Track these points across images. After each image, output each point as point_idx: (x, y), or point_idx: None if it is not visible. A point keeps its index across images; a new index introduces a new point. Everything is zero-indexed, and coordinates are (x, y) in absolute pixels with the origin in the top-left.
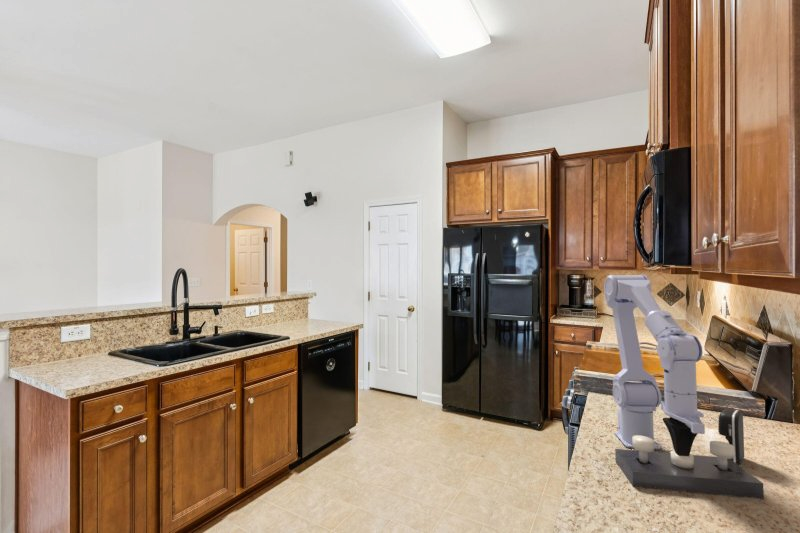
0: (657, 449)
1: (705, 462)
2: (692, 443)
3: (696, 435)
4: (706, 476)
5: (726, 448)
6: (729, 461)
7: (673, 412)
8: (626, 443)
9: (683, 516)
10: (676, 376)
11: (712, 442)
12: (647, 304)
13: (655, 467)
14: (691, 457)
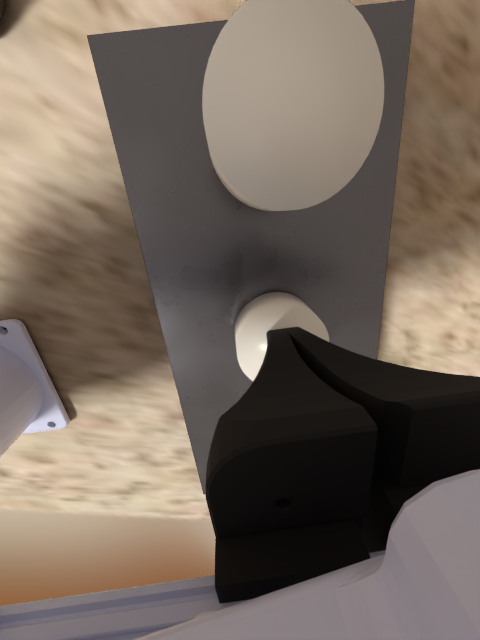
0: (27, 331)
1: (220, 222)
2: (345, 350)
3: (409, 368)
4: (367, 273)
5: (374, 107)
6: (152, 63)
7: None
8: (46, 425)
9: (473, 365)
10: None
11: (258, 181)
12: None
13: None
14: (312, 320)
